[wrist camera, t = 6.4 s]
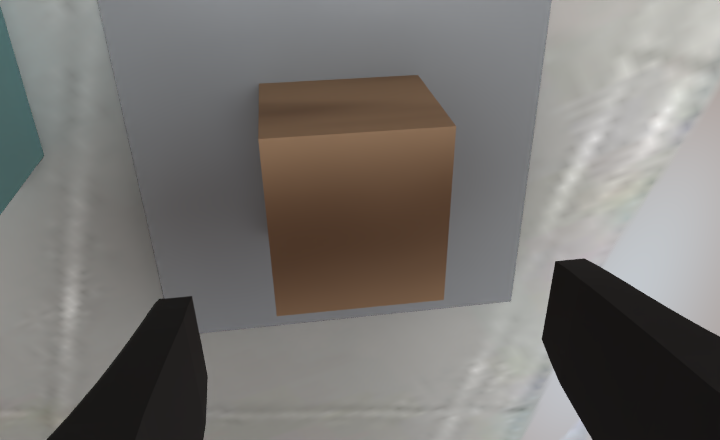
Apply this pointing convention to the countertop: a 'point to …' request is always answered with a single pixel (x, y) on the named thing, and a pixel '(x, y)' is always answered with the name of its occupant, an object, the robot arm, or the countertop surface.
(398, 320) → the countertop surface
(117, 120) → the countertop surface
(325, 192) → the walnut brick
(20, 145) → the teal brick
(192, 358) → the robot arm
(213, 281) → the baseplate
